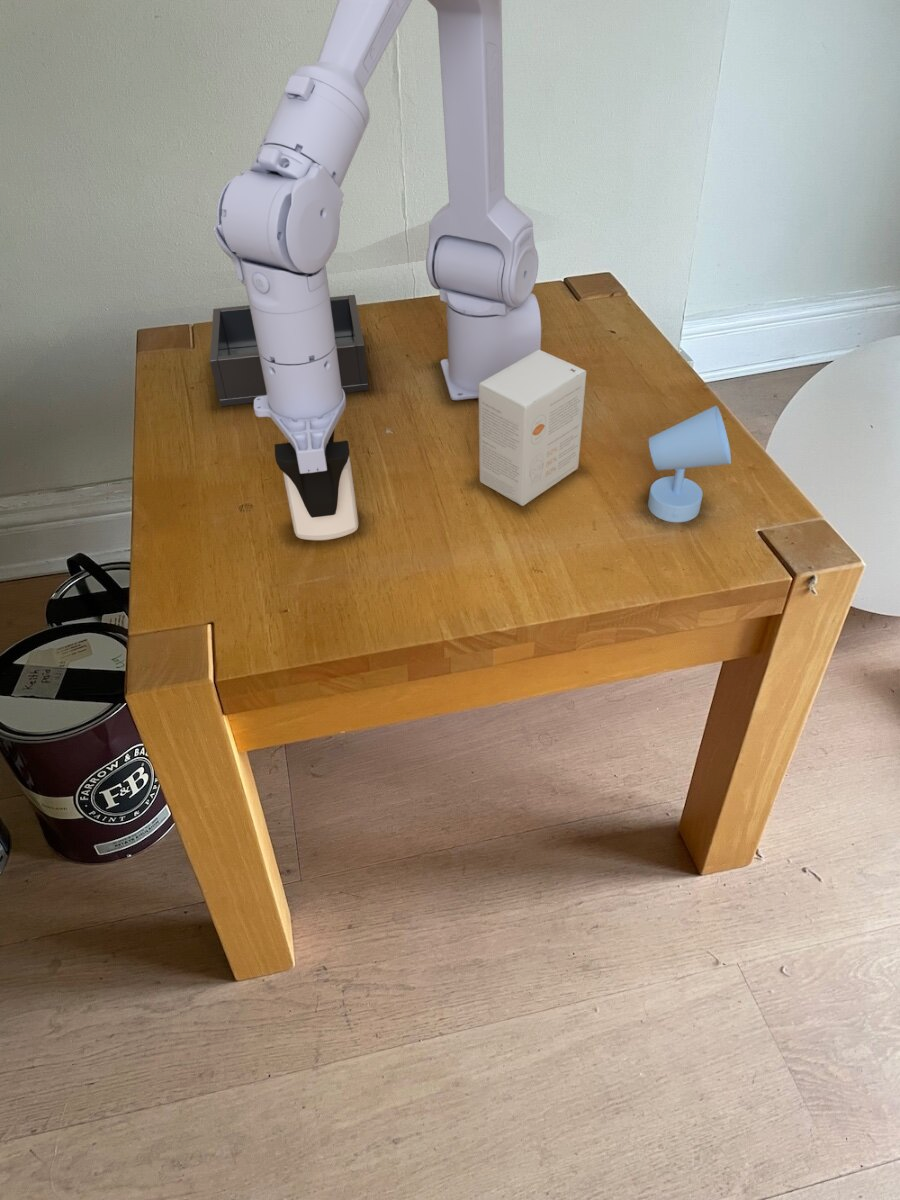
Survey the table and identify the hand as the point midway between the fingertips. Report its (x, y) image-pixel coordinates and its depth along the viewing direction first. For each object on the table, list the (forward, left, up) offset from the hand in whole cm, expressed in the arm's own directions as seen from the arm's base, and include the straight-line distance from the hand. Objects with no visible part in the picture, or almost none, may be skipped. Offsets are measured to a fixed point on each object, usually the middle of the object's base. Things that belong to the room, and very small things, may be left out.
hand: (321, 493), depth 75 cm
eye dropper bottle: (0, 0, -4) cm, 4 cm away
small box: (-19, -4, -4) cm, 20 cm away
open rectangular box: (+2, -28, -4) cm, 28 cm away
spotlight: (-31, +3, -4) cm, 31 cm away
